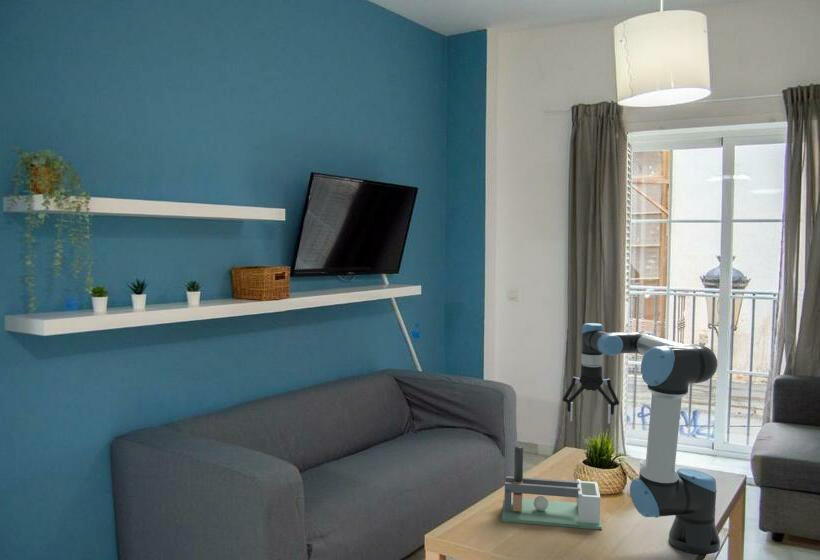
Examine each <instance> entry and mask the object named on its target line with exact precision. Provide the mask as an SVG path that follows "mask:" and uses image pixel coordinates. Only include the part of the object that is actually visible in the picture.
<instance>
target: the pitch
mask: <svg viewBox="0 0 820 560" xmlns="http://www.w3.org/2000/svg"><path fill="white" fill-rule="evenodd" d="M513 493H523V495H524V494H526V495H535V496H536V495H537V496H550V497H565V498H575V499H576V502H574V501H573V502H572V501H571V502H570V501H560V500H559V501H557V500H548V499H547V501H548V507H547V509H546V510H544V511H539V510H537V509H536V508H535V506H534V500H535V498H523V502H522V512H521V511H513V497H512V494H513ZM600 494H601V493H600V488H599V484H598V482H597V481H588V480H587V481H585V480H581V478H580V479H579V478H577V479H576V480H564V479H561V480H560V479H549V478H548V479H547V478H539V477H538V478H536V477H534V478H533V477H523V483H514V476H510V475H508V476H505V482H504V501H503V508H502V514H501V515H502V516H501V522H504V523H505V522H506V523H516V524H517V523H518V524H527V525H528V524H529V525H541V526H550V527H562V526H563V527H564V528H575V529H576V528H578V529H588V530H598V529H602V530H603V525H602V522H601V521H602V520H601V495H600Z"/></svg>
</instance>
